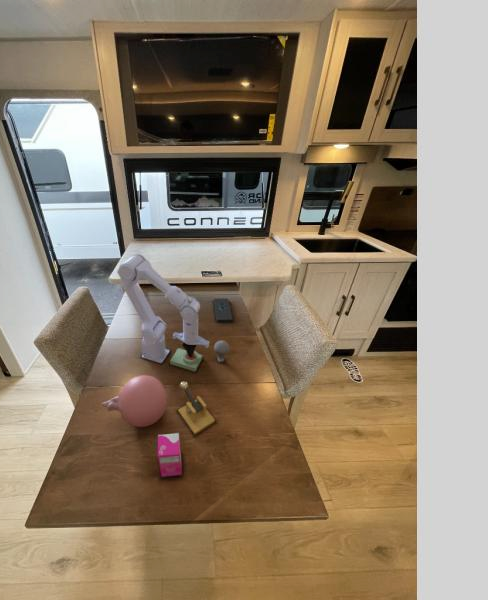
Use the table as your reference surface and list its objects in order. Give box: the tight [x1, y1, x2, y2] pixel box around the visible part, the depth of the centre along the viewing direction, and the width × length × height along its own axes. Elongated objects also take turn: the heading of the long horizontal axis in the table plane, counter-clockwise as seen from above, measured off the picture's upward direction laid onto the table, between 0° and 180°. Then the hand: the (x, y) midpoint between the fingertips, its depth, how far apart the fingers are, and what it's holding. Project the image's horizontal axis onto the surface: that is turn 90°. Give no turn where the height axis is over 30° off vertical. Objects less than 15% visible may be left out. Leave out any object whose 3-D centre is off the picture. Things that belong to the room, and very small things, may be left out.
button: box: [186, 353, 195, 360], centre depth 107 cm, size 4×4×2 cm
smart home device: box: [213, 298, 234, 323], centre depth 140 cm, size 8×2×20 cm
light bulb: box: [213, 340, 230, 363], centre depth 107 cm, size 6×6×10 cm
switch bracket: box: [177, 395, 216, 436], centre depth 86 cm, size 10×8×7 cm
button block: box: [169, 347, 203, 372], centre depth 108 cm, size 11×8×4 cm
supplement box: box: [157, 432, 183, 478], centre depth 72 cm, size 6×6×12 cm
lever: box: [179, 380, 202, 413], centre depth 87 cm, size 11×3×3 cm, turn 33°
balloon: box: [101, 374, 168, 428], centre depth 84 cm, size 15×20×15 cm
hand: (190, 355), depth 106 cm, fingers closed, pressing on button
